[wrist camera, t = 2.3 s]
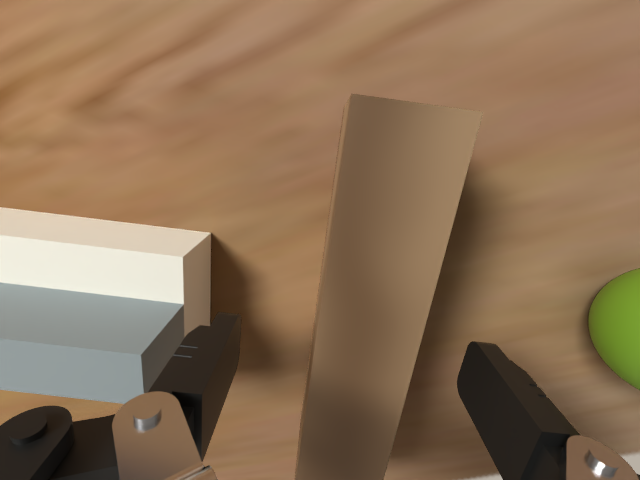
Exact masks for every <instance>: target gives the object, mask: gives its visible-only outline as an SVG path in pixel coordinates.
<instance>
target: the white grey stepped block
mask: <svg viewBox="0 0 640 480" xmlns="http://www.w3.org/2000/svg"><path fill="white" fill-rule="evenodd" d="M210 296H211V233H208V232H200V231H192V230H183V229H175V228H167V227H159V226H151V225H142V224H134V223H126V222H118V221H109V220H101V219H93V218H85V217H77V216H68V215H60V214H52V213H44V212H35V211H27V210H19V209H11V208H3V207H0V390H9V391H17V392H26V393H35V394H44V395H52V396H61V397H70V398H79V399H87V400H96V401H105V402H114V403H122V404H125V403H126V402H128V401H129V400H131V399H133V398H135V397H136V396H139V395H141V394H144V393H147V392H148V391H149V389H150V388H151V386H152V385H153V384H154V382H155V381H156V379H157V378H158V376H159V375H160V373H161V372H162V370H163V369H164V367H165V366H166V364H167V363H168V361H169V360H170V358H171V357H172V356H173V355H174V353H175V351H176V350H177V348H178V347H180V344H181V342H182V341H183V339H184V338H185V336H186V335H187V334H188V333H189V332H191V331H192V330H193V329H195V328H196V327H198V326H199V325H204V326H210Z"/></svg>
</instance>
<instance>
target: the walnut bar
mask: <svg viewBox="0 0 640 480" xmlns="http://www.w3.org/2000/svg"><path fill="white" fill-rule="evenodd" d="M482 116H483V112H482V111H475V110H468V109H460V108H453V107H445V106H438V105H431V104H423V103H416V102H409V101H401V100H394V99H386V98H379V97H372V96H364V95H357V94H351V96H350V98H349V99H348V101H347V103H346V105H345V106H344V111H343V118H342V125H341V132H340V139H339V146H338V154H337V161H336V168H335V175H334V182H333V189H332V197H331V204H330V211H329V218H328V225H327V232H326V240H325V247H324V254H323V261H322V268H321V275H320V283H319V290H318V297H317V304H316V311H315V318H314V325H313V333H312V340H311V347H310V354H309V361H308V368H307V376H306V383H305V390H304V397H303V404H302V412H301V422H300V432H299V441H298V451H297V461H296V471H295V480H384V476H385V472H386V469H387V465H388V461H389V458H390V454H391V450H392V447H393V443H394V439H395V436H396V432H397V428H398V424H399V421H400V417H401V413H402V410H403V406H404V402H405V399H406V395H407V391H408V388H409V384H410V380H411V377H412V373H413V369H414V366H415V362H416V358H417V355H418V351H419V347H420V344H421V340H422V336H423V333H424V329H425V325H426V322H427V318H428V314H429V310H430V307H431V303H432V299H433V296H434V292H435V288H436V285H437V281H438V277H439V274H440V270H441V266H442V263H443V259H444V255H445V252H446V248H447V244H448V241H449V237H450V233H451V230H452V226H453V222H454V219H455V215H456V211H457V207H458V204H459V200H460V196H461V193H462V189H463V185H464V182H465V178H466V174H467V171H468V167H469V163H470V160H471V156H472V152H473V149H474V145H475V141H476V138H477V134H478V130H479V127H480V123H481V119H482Z"/></svg>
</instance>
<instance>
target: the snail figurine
mask: <svg viewBox="0 0 640 480" xmlns="http://www.w3.org/2000/svg"><path fill="white" fill-rule="evenodd" d="M588 325H589V332H590V336H591V339H592V342H593V344H594V346H595V348H596V350H597V352H598V353H599V355H600V356H601V358H602V359H603V360H604V362H605V363H606V364H607V365H608V366H609V367H610V368H611V369H612V370H613V371H614V372H615V373H616V374H617V375H618V376H619V377H621V378H622V379H623V380H625V381H626V382H627V383H629V384H630V385H632V386H634V387H635V388H637V389H639V390H640V268H638V269H635V270H632V271H629V272H627V273H624V274H622V275H620V276H618V277H616V278H615V279H613V280H612V281H610V282H609V283H608V284H606V285H605V286H604V287H603V288H602V289H601V290H600V291H599V293H598V294H597V295H596V297H595V299H594V300H593V302H592V305H591V308H590V311H589V318H588Z"/></svg>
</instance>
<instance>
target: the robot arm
mask: <svg viewBox="0 0 640 480" xmlns="http://www.w3.org/2000/svg"><path fill="white" fill-rule="evenodd" d="M240 335H241V315H240V314H232V313H223V312H218V313H217V315H216V317H215V318H214V320H213V322H212V323H211V325H210V326H204V325H199V326H198V327H196V328H195V329H193V330H192V331H191V332H189V333H188V334H187V335H186V336H185V338H184V339H183V341H182V342H181V344H180V347H178V348H177V350H176V351H175V353H174V355H173V356H172V357H171V358H170V360H169V361H168V363H167V364H166V366H165V367H164V369H163V370H162V372H161V373H160V375H159V376H158V378H157V379H156V381H155V382H154V384H153V385H152V386H151V388H150V389H149V391H148V392H147V393H144V394H141V395H139V396H136V397H135V398H133V399H131V400H129V401H128V402H126V403H125V404H124V405H123V406H122V407H121V408H120V409H119V410H118V411H117V413H116V414H114V415H111V416H106V417H100V418H94V419H88V420H82V421H76V422H72V416H71V414H70V412H69V411H68V410H67V409H65V408H63V407H60V406H43V407H38V408H34V409H31V410H28V411H25V412H23V413H21V414H19V415H17V416H15V417H13V418H11V419H9V420H8V421H6V422H5V423H3V424H2V425H1V426H0V480H218V479H217V477H216V474H215V472H214V470H213V469H212V467H211V466H207V467H204V465H203V463H202V462H203V459H204V456H205V454H206V451H207V448H208V445H209V443H210V440H211V437H212V435H213V432H214V429H215V426H216V424H217V421H218V418H219V415H220V413H221V410H222V407H223V405H224V402H225V399H226V396H227V394H228V391H229V388H230V386H231V383H232V380H233V377H234V375H235V372H236V369H237V365H238V360H239V353H240ZM457 388H458V393H459V396H460V398H461V400H462V402H463V404H464V405H465V407H466V409H467V411H468V413H469V415H470V417H471V419H472V421H473V423H474V425H475V427H476V429H477V430H478V432H479V434H480V436H481V438H482V440H483V442H484V444H485V446H486V448H487V450H488V452H489V453H490V455H491V457H492V459H493V461H494V463H495V465H496V467H497V469H498V471H499V473H500V475H501V477H502V478H503V480H640V475H638V474H636V473H635V471H634V470H633V469H632V467H631V466H630V465H629V464H628V463H627V462H626V461H625V460H624V459H623V458H622V457H621V456H620V455H618V454H617V453H616V452H614V451H613V450H612V449H610V448H609V447H607V446H605V445H604V444H602V443H600V442H598V441H596V440H594V439H591V438H588V437H584V436H580V435H579V433H578V432H577V431H576V430H575V429H574V428H573V426H572V425H571V424H570V423H569V422H568V421H567V419H566V418H565V417H564V416H563V415H562V414H561V412H560V411H559V410H558V409H557V408H556V406H555V405H554V404H553V403H552V402H551V401H550V399H549V398H546V395H545V394H544V392H543V391H542V390H541V389H540V388H539V387H537V384H536V383H535V382H534V381H533V380H532V378H531V377H530V376H529V375H528V374H527V372H525V371H524V370H523V369H521V368H520V367H519V366H517V365H516V364H515V363H513V362H512V361H510V360H509V359H508V358H507V357H506V356H505V354H504V353H503V352H502V351H501V350H500V348H499V347H498V346H497V345H496V344H491V343H482V342H471V343H470V344H469V345H468V347H467V350H466V353H465V356H464V359H463V363H462V366H461V369H460V372H459V375H458V379H457Z"/></svg>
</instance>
